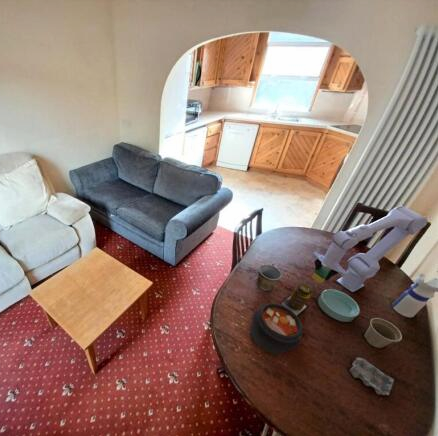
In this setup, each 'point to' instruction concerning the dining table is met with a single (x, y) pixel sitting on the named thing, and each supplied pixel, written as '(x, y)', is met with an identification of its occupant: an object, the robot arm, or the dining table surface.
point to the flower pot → (382, 333)
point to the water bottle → (415, 296)
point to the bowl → (338, 305)
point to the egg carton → (372, 376)
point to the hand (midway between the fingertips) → (321, 275)
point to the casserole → (276, 328)
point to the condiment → (298, 299)
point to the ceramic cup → (268, 276)
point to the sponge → (320, 274)
